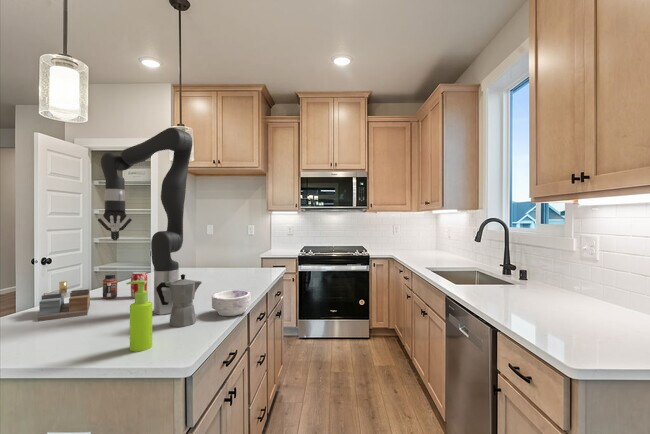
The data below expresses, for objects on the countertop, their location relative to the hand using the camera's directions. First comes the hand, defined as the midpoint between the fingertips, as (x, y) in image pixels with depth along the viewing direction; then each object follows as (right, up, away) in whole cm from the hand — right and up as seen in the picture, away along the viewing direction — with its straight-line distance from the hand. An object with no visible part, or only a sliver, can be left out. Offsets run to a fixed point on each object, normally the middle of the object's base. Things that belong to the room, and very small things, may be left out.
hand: (115, 240), depth 145 cm
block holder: (-16, -29, -7) cm, 34 cm away
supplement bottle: (-13, -29, +18) cm, 37 cm away
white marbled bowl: (+52, -29, -8) cm, 61 cm away
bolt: (-19, -22, -8) cm, 30 cm away
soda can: (0, -29, +19) cm, 35 cm away
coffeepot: (+37, -29, -22) cm, 52 cm away
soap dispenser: (+35, -29, -44) cm, 63 cm away
